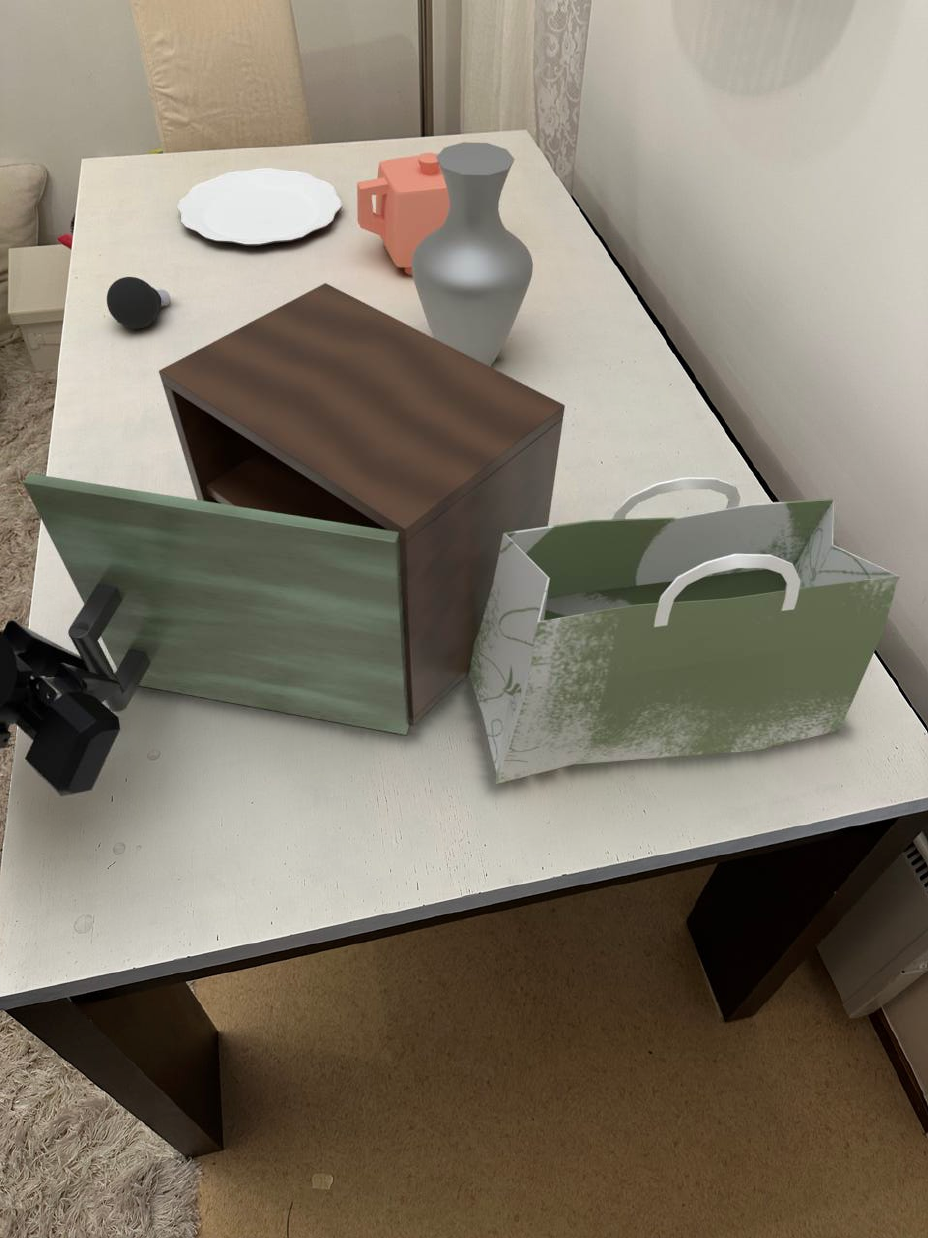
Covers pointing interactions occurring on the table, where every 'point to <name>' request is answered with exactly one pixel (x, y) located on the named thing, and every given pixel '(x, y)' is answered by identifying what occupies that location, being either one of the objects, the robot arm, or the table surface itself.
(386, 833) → the table surface
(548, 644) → the grocery bag
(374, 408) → the wooden cabinet
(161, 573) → the green cabinet door
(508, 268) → the vase
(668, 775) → the table surface
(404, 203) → the teapot
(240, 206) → the plate
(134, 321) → the light bulb
